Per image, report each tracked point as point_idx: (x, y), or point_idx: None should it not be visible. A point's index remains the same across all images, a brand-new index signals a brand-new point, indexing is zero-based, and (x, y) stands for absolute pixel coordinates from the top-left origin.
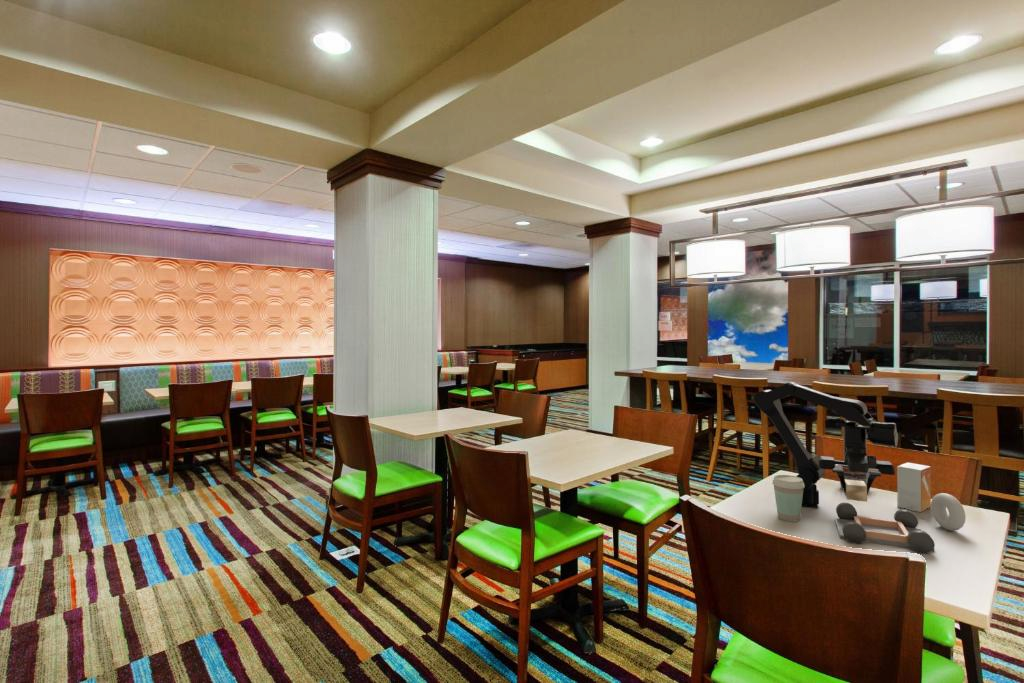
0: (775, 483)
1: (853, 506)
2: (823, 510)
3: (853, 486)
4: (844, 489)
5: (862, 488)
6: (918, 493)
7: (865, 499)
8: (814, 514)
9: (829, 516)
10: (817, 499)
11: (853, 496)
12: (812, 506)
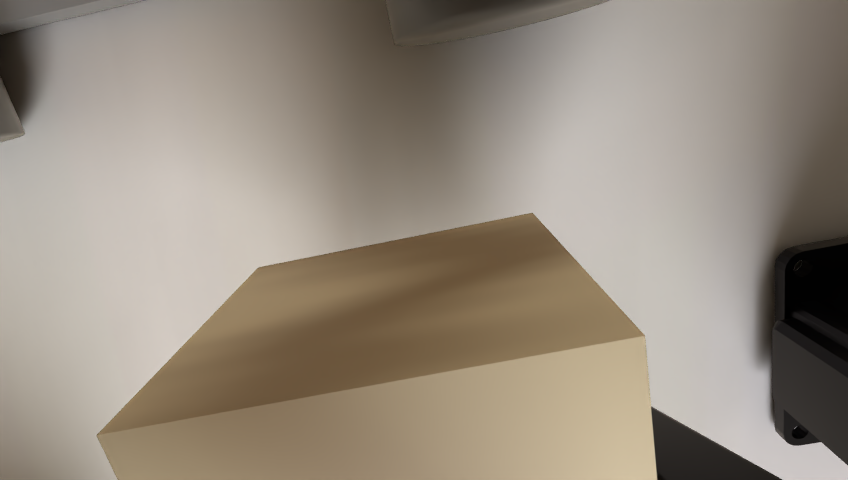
0: None
1: (422, 4)
2: (715, 217)
3: (451, 351)
4: None
5: (239, 368)
6: None
7: (268, 272)
8: (819, 3)
9: (661, 33)
10: (829, 343)
11: (443, 249)
12: (833, 242)
